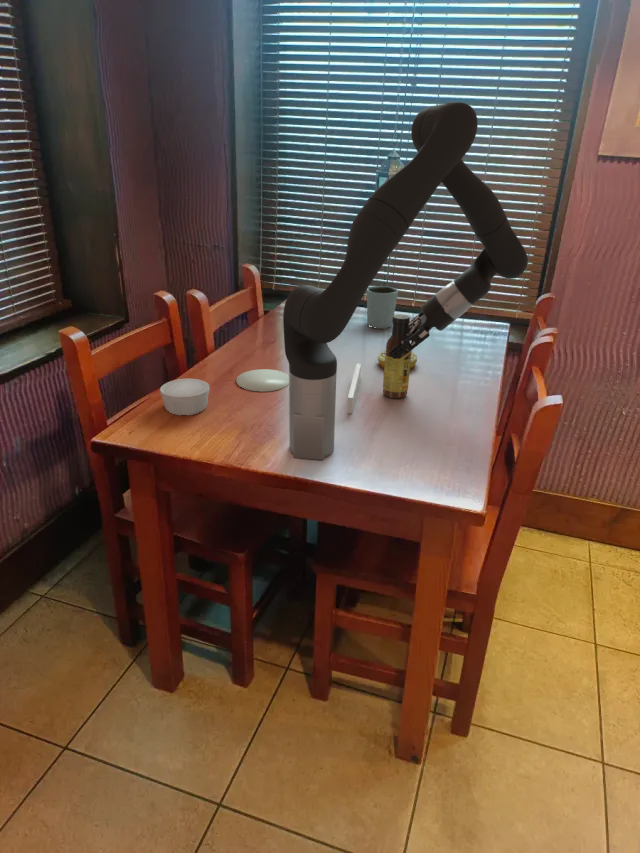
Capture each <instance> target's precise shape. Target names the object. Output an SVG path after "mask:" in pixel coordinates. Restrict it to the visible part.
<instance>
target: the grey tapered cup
mask: <svg viewBox="0 0 640 853" xmlns="http://www.w3.org/2000/svg"><path fill="white" fill-rule="evenodd" d="M398 295H399V290H398V288H395V287H392V286H385V285H373V286H369V287H368V288H367V290H366V299H367V300H366V307H367V308H366V325H367V324H368V325H370V326H372V327H376V328H388V327H391V326H392V327H393V323H392V319H393V316H394V315H395V312H396V305H397V299H398ZM368 325H367V326H368ZM392 327H391V328H392ZM388 329H389V328H388Z"/></svg>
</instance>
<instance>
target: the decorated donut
mask: <svg viewBox="0 0 640 853" xmlns="http://www.w3.org/2000/svg"><path fill="white" fill-rule="evenodd" d="M385 354H386V349H385V350H383V351H381V353H379V355H377V361H378V364H379V365H380V367H382V368H383V369H384V365H385ZM417 361H418V357H417V354H416V353H415V352H413V351H411V363H410V370H411V369H413V368H414V367H415V365H416V364H417Z"/></svg>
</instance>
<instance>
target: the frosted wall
mask: <svg viewBox="0 0 640 853" xmlns="http://www.w3.org/2000/svg"><path fill="white" fill-rule="evenodd" d="M361 373H362V363H361V362H360V363H359V362H358V363H357V362H356V365H355V368H354V372H353V375H352V379H351V384H350V387H349V391H348V395H347V402H346V403H347V405H346V406H347V407H346V413H347V414H350V415H351V414H353V411H354V407H355V403H356V399H357V394H358V390H359V386H360V385H359V384H360V381H361V375H362V374H361Z"/></svg>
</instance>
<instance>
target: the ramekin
mask: <svg viewBox="0 0 640 853" xmlns="http://www.w3.org/2000/svg"><path fill="white" fill-rule="evenodd" d="M210 389H211V388H210V384H209V383H208V382H206V381H204V380H202V379H198V378H180V379H179V378H178V379H174V380H170V381H167V382H166V383H164V384H163V385H162V386H161V387H159V393H160V396H161V398H162V401H163V405H164V408H165V410H167V412H168V411H169V412H168V413H170V414H171V413H172V415H174V414H175V416H181V415H187V416H193V414H194V415H197V414H200V413H201V411H202V412H203V411H205V409H206V408H207V406H208V402H209V400H208V399H209V393H210V391H211V390H210ZM199 412H200V413H199Z"/></svg>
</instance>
